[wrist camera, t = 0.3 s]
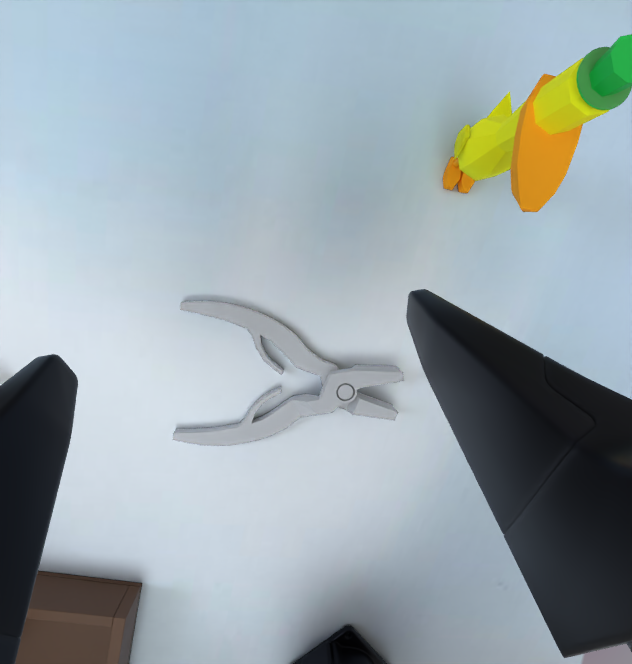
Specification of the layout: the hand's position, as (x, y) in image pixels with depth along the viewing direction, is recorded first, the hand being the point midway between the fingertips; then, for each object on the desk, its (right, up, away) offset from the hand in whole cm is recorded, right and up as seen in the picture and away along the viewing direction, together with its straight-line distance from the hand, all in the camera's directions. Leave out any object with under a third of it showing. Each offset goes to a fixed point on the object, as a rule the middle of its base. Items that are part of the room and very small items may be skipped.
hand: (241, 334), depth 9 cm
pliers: (0, -3, +16) cm, 16 cm away
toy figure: (+11, +10, +15) cm, 21 cm away
